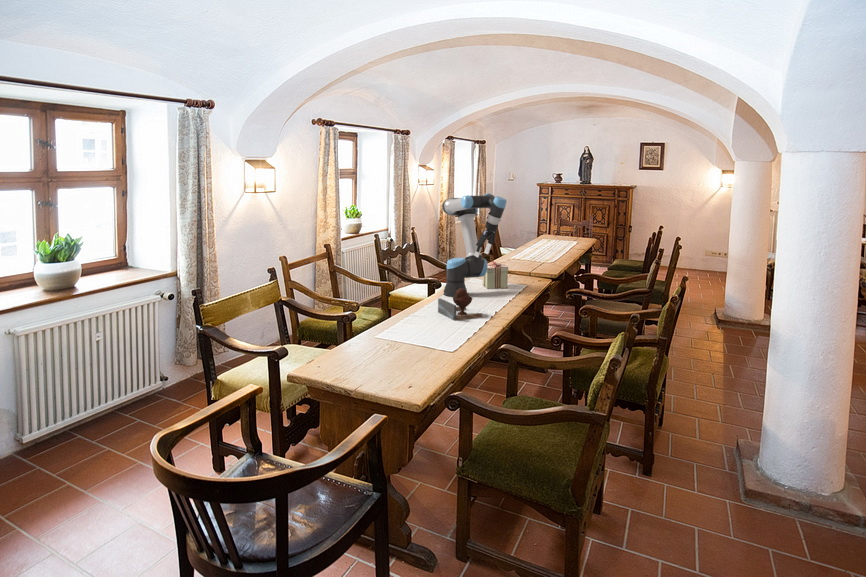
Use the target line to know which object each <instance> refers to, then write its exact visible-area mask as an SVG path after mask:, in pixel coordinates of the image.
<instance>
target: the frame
mask: <svg viewBox="0 0 866 577" xmlns="http://www.w3.org/2000/svg"><path fill="white" fill-rule="evenodd" d="M437 302H438V303H437V313H439V314H441V315H443V316H445V317H447V318H449V319H451V320H453V321H459V320H467V319H476V318H482V316H483V313H482V312H478V313H470V314H468V313H467V315H457V311H459V312H460V311H461V307H459V306H457V305H456V304H455V303H452V302H449V301H447V300H446V299H443V298H442V297H441V298H439V297H438V298H437ZM465 310H466V311H467V307H464V311H465Z"/></svg>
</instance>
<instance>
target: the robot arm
mask: <svg viewBox="0 0 866 577" xmlns="http://www.w3.org/2000/svg"><path fill="white" fill-rule="evenodd" d="M506 205H507V199H506V198H505V197H502V196H495V195H493V194H492V193H490V192H489V193H488V192H487V193H485V194H483V195H470V194H469V195H462V197H450V198H446V199H445V200H444V201H442V204H441V210H442V211H443V213H444V214H446V215H447V216H452V217H453V216H455V217H456V216H457V219H458V221H460V224H461V228H462V236H463V242H464V248H465V254H466V255H465V257H454V258H453V257H452V258H450V259H448V260H447V261H446V284H445V286H444V290H443V295H444V296H445V297H451V298H453V297H455V294H456V291H457V290H458V289H460V288H463V289H465V290H466V291H467V286H466V284H465V281H466V280H465V279H469V278H481V277H483V276H484V275H485V274H486V272H487V264H488V261H487V259H486V258H484V257H483V255H482V254H481V252H482V250H483V247H482V246H484V244H485V242H486V241H487V240H488V241H487V244H486V246H485V249H484V251H483V252H484V254H486V255H489V254H490V250H491V248H492V246H493V245H494V244H495V238H496V232H497V230H498V228H499V225H500V222H501V220H502V216H503V213H504V211H505V209H506ZM478 209H489V213H488V216H487V217H486V218H487V219H486V221H485V224H484V228H486V229H485V230H483V231H482V232H481V233H482V234H481V235H480V236H479V239H478V238H477V237H478V236H477V232H476V225H475V218H476V215H477V213H478V211H479V210H478ZM467 292H468V291H467Z"/></svg>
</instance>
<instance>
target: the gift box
mask: <svg viewBox="0 0 866 577" xmlns="http://www.w3.org/2000/svg"><path fill="white" fill-rule="evenodd" d="M508 272H509V267H508V266H507V265H506V264H504V263H503V262H501V263H499V262H496V261H494V260H491V263H487V272H486V274H485V275H484V276H483V277H482V286H483V287H484V288H485V289H486V288H487V290H497V289H498V290H499V288H500V289H508V278H509V276H508V274H509V273H508Z"/></svg>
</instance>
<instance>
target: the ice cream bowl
mask: <svg viewBox="0 0 866 577" xmlns="http://www.w3.org/2000/svg"><path fill="white" fill-rule="evenodd" d="M452 300H453V304H454V305H456V307H461V310H459V312H457V316H459V315H468V313H467V312H466V311H465V310H464V307H466V308H467V307H469V305H470V304H471V303H472V301H473V297H472V296H470V295H469V293H468V291H466V290H465V289H463V288H460V289H458V290H457V291H456V294H455V297H452Z"/></svg>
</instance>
